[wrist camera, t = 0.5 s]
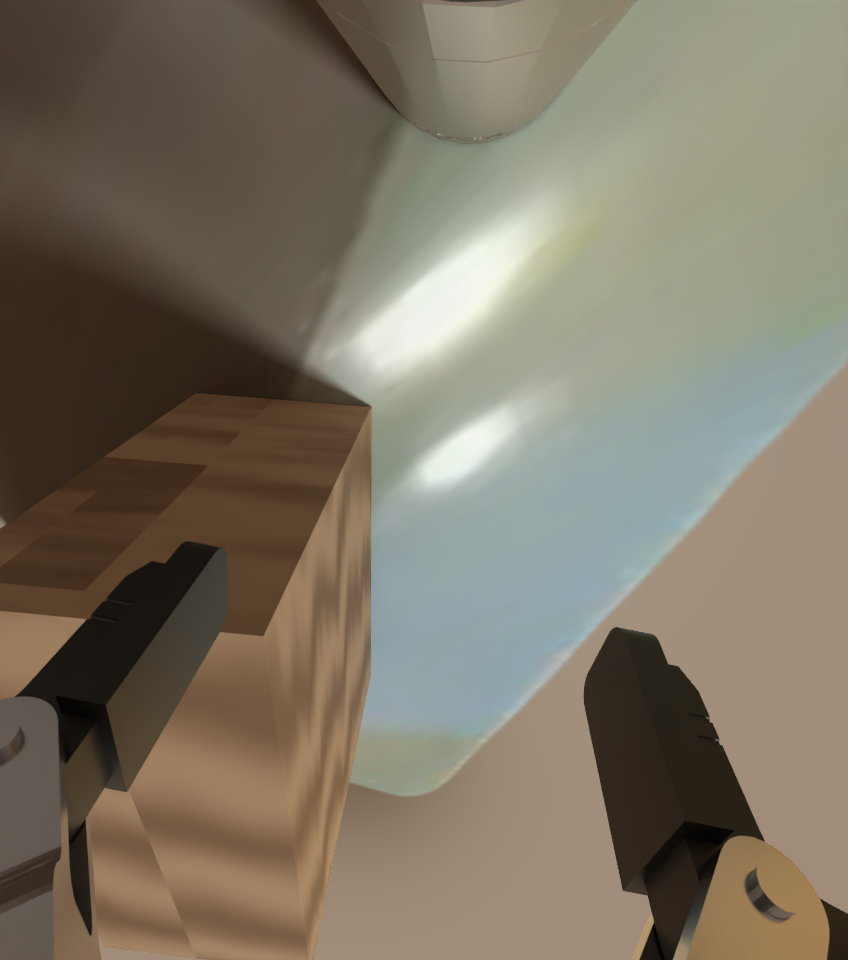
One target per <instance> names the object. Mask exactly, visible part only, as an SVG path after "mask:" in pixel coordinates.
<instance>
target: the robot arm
mask: <svg viewBox="0 0 848 960" xmlns="http://www.w3.org/2000/svg"><path fill="white" fill-rule="evenodd" d="M316 1H317V2H318V4H319V5H320V6H321V8H322V9H323V10H324V12H325V13H326V15H327V16H328V17H329V19H330V20H331V21H332V23H333V24H334V25H335V27H336V28H337V30H338V31H339V32H340V34H341V35H342V36H343V38H344V39H345V41H346V42H347V43H348V45H349V46H350V47H351V49H352V50H353V51H354V53H355V54H356V56H357V57H358V58H359V60H360V61H361V62H362V64H363V65H364V67H365V68H366V69H367V71H368V72H369V74H370V75H371V76H372V78H373V79H374V80H375V82H376V83H377V85H378V86H379V87H380V89H381V90H382V91H383V93H384V94H385V95H386V97H387V98H388V99H389V100H390V101H391V103H392V104H393V105H394V106H395V108H396V109H397V110H398V111H399V112H400V114H401V115H402V116H404V117H405V118H406V119H407V120H409V121H410V122H411V123H412V124H414V125H415V126H416V127H417V128H419V129H420V130H422V131H424V132H426V133H428V134H430V135H432V136H435V137H437V138H439V139H441V140H445V141H451V142H456V143H461V144H470V143H485V142H489V141H492V140H495V139H498V138H502V137H505V136H508V135H510V134H512V133H513V132H515V131H517V130H518V129H520V128H522V127H523V126H525V125H527V124H528V123H530V122H531V121H532V120H533V119H535V118H536V117H537V116H538V115H539V114H540V113H541V112H542V111H543V110H544V109H545V108H547V107H548V106H549V105H550V104H551V103H552V101H553V100H554V99H555V98H556V97H557V95H558V94H559V93H560V92H561V91H562V89H563V88H564V87H565V86H566V85H567V84H568V83H569V82H570V80H571V79H572V78H573V77H574V76H575V74H576V73H577V72H578V71H579V70H580V68H581V67H582V66H583V65H584V64H585V62H586V61H587V60H588V59H589V58H590V56H591V55H592V54H593V53H594V52H595V50H596V49H597V48H598V47H599V46H600V44H601V43H602V42H603V41H604V40H605V38H606V37H607V36H608V35H609V34H610V32H611V31H612V30H613V29H614V28H615V26H616V25H617V24H618V23H619V22H620V20H621V19H622V18H623V17H624V16H625V14H626V13H627V12H628V11H629V10H630V8H631V7H632V6H633V5H634V4H635V2H636V1H637V0H316ZM227 610H228V570H227V553H226V550H225V549H224V548H222V547H217V546H212V545H206V544H201V543H196V542H191V541H185V542H183V543H182V544H181V545H180V546H179V547H178V548H177V550H176V551H175V552H174V553H173V554H172V556H171V557H170V558H169V559H168V560H167V562H166V563H160V562H155V561H151V562H149V563H147V564H146V565H144V566H142V567H141V568H139V569H137V570H136V571H134V572H132V573H130V574H129V575H127V576H125V578H124V579H123V580H122V581H121V582H120V583H119V584H118V585H117V586H116V588H115V589H114V590H113V591H112V592H111V593H110V594H109V595H108V596H107V599H106V601H103V602H102V603H101V604H100V605H99V606H98V607H97V608H96V610H95V611H94V612H93V613H92V614H91V618H90V619H87V620H86V621H85V622H84V623H83V624H82V625H81V626H80V627H79V628H78V629H77V631H76V632H75V633H74V634H73V635H72V636H71V637H70V638H69V639H68V640H67V642H66V643H65V644H64V645H63V646H62V647H61V648H60V649H59V650H58V652H57V653H56V654H55V655H54V656H53V657H52V658H51V659H50V660H49V661H48V663H47V664H46V665H45V666H44V667H43V668H42V669H41V670H40V671H39V672H38V674H37V675H36V676H35V677H34V678H33V679H32V680H31V681H30V682H29V684H28V685H27V686H26V687H25V688H24V689H23V690H22V691H21V692H20V693H19V694H17V695H16V696H15V697H12V698H6V699H2V700H0V960H101V955H100V949H99V941H98V930H97V915H96V901H95V886H94V872H93V858H92V843H91V829H90V816H89V812H90V811H91V809H92V807H93V806H94V804H95V803H96V801H97V799H98V798H99V796H100V795H101V793H102V791H103V790H104V788H107V789H112V790H117V791H122V792H128V790H129V788H130V786H131V785H132V783H133V781H134V780H135V778H136V776H137V774H138V773H139V771H140V769H141V768H142V766H143V764H144V762H145V761H146V759H147V757H148V755H149V754H150V752H151V750H152V749H153V747H154V745H155V743H156V742H157V740H158V738H159V736H160V735H161V733H162V731H163V730H164V728H165V726H166V724H167V723H168V721H169V719H170V717H171V716H172V714H173V712H174V711H175V709H176V707H177V705H178V704H179V702H180V700H181V699H182V697H183V695H184V693H185V692H186V690H187V688H188V686H189V685H190V683H191V681H192V680H193V678H194V676H195V674H196V673H197V671H198V669H199V667H200V666H201V664H202V662H203V661H204V659H205V657H206V655H207V654H208V652H209V650H210V648H211V647H212V645H213V643H214V642H215V640H216V638H217V636H218V635H219V633H220V631H221V629H222V627H223V624H224V621H225V618H226V615H227ZM584 705H585V710H586V715H587V720H588V724H589V729H590V734H591V739H592V744H593V749H594V754H595V758H596V763H597V768H598V773H599V778H600V783H601V787H602V792H603V797H604V802H605V807H606V811H607V816H608V821H609V826H610V831H611V835H612V840H613V845H614V850H615V855H616V860H617V865H618V869H619V874H620V879H621V884H622V889H623V891H628V892H632V893H638V894H643V895H648V898H649V902H650V907H651V911H652V916H651V917H650V918H649V919H648V921H647V923H646V924H645V927H644V929H643V932H642V934H641V937H640V939H639V942H638V944H637V947H636V949H635V952H634V954H633V957H632V959H631V960H848V914H847V913H845V912H843V911H841V910H840V909H837V908H836V907H834V906H832V905H830V904H828V903H827V902H825V901H823V900H822V899H820V898H819V896H818V895H817V893H816V891H815V890H814V888H813V886H812V885H811V884H810V882H809V881H808V879H807V878H806V877H805V876H804V874H803V873H802V872H801V871H800V869H798V867H797V866H796V865H795V864H794V863H793V862H792V861H791V860H790V859H789V858H787V857H786V856H785V855H784V854H783V853H781V852H780V851H779V850H777V849H776V848H774V847H773V846H771V845H769V844H768V843H766V842H765V840H764V838H763V836H762V834H761V832H760V830H759V828H758V826H757V824H756V821H755V819H754V817H753V814H752V812H751V810H750V808H749V805H748V803H747V801H746V798H745V796H744V794H743V792H742V789H741V787H740V785H739V783H738V780H737V778H736V776H735V773H734V771H733V769H732V767H731V764H730V762H729V760H728V758H727V755H726V753H725V751H724V748H723V746H722V745H720V744H719V737H718V735H717V733H716V730H715V728H714V726H713V723H710V721H709V718H710V717H709V714H708V712H707V710H706V707H705V705H704V703H703V701H702V698H701V696H700V694H699V692H698V690H697V689H696V688H695V686H694V685H693V684H692V683H691V681H690V680H689V679H688V678H687V677H686V675H685V674H684V673H683V672H682V671H681V669H680V668H679V667H678V666H674V665H669V664H668V663H667V660H666V658H665V655H664V653H663V650H662V648H661V645H660V643H659V641H658V639H657V638H656V637H655V636H654V635H653V634H648V633H643V632H638V631H633V630H628V629H623V628H618V627H616V628H613V629H612V630H611V631H610V633H609V635H608V636H607V638H606V640H605V642H604V644H603V646H602V648H601V650H600V651H599V653H598V655H597V657H596V659H595V661H594V663H593V665H592V667H591V668H590V670H589V672H588V674H587V677H586V681H585V686H584Z"/></svg>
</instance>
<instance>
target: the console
mask: <svg viewBox="0 0 848 960" xmlns="http://www.w3.org/2000/svg"><path fill="white" fill-rule="evenodd" d="M185 541H191V542H196V543H201V544H206V545H212V546H217V547H222V548H224V549H225V550H226V553H227V570H228V610H227V615H226V618H225V621H224V624H223V627H222V629H221V631H220V633H219V635H218V636H217V638H216V640H215V642H214V643H213V645H212V647H211V648H210V650H209V652H208V654H207V655H206V657H205V659H204V661H203V662H202V664H201V666H200V667H199V669H198V671H197V673H196V674H195V676H194V678H193V680H192V681H191V683H190V685H189V686H188V688H187V690H186V692H185V693H184V695H183V697H182V699H181V700H180V702H179V704H178V705H177V707H176V709H175V711H174V712H173V714H172V716H171V717H170V719H169V721H168V723H167V724H166V726H165V728H164V730H163V731H162V733H161V735H160V736H159V738H158V740H157V742H156V743H155V745H154V747H153V749H152V750H151V752H150V754H149V755H148V757H147V759H146V761H145V762H144V764H143V766H142V768H141V769H140V771H139V773H138V774H137V776H136V778H135V780H134V781H133V783H132V785H131V786H130V788H129V790H128V792H122V791H117V790H112V789H107V788H104V790H103V791H102V793H101V795H100V796H99V798H98V799H97V801H96V803H95V804H94V806H93V807H92V809H91V811H90V812H89V816H90V829H91V843H92V858H93V872H94V886H95V901H96V915H97V930H98V936H99V938H100V940H101V941H102V943H103V945H104V946H105V947H109V948H118V949H125V950H133V951H142V952H150V953H158V954H166V955H174V956H182V957H191V958H199V959H207V960H313V955H314V951H315V946H316V941H317V936H318V932H319V927H320V921H321V916H322V912H323V907H324V902H325V897H326V892H327V887H328V882H329V877H330V872H331V868H332V863H333V858H334V853H335V848H336V843H337V838H338V833H339V828H340V823H341V819H342V814H343V808H344V804H345V799H346V794H347V789H348V784H349V779H350V774H351V769H352V764H353V760H354V755H355V750H356V745H357V740H358V735H359V730H360V725H361V720H362V715H363V710H364V706H365V701H366V696H367V691H368V686H369V681H370V652H371V407H368V406H355V405H343V404H330V403H317V402H304V401H292V400H279V399H266V398H253V397H241V396H228V395H215V394H202V393H195V394H194V395H192V396H191V397H189V398H188V399H187V400H185V401H184V402H182V403H181V404H179V405H178V406H176V407H175V408H174V409H172V410H171V411H169V412H168V413H166V414H165V415H164V416H162V417H161V418H159V419H158V420H156V421H155V422H153V423H152V424H151V425H149V426H148V427H146V428H145V429H143V430H142V431H140V432H139V433H138V434H136V435H135V436H133V437H132V438H130V439H129V440H128V441H126V442H125V443H123V444H122V445H120V446H119V447H117V448H116V449H115V450H113V451H112V452H110V453H109V454H107V455H106V456H104V457H103V458H102V459H100V460H99V461H97V462H96V463H94V464H93V465H92V466H90V467H89V468H87V469H86V470H84V471H83V472H81V473H80V474H79V475H77V476H76V477H74V478H73V479H71V480H70V481H68V482H67V483H66V484H64V485H63V486H61V487H60V488H58V489H57V490H56V491H54V492H53V493H51V494H50V495H48V496H47V497H45V498H44V499H43V500H41V501H40V502H38V503H37V504H35V505H34V506H32V507H31V508H30V509H28V510H27V511H25V512H24V513H22V514H21V515H20V516H18V517H17V518H15V519H14V520H12V521H11V522H9V523H8V524H7V525H5V526H4V527H2V528H1V529H0V700H2V699H6V698H12V697H15V696H16V695H17V694H19V693H20V692H21V691H22V690H23V689H24V688H25V687H26V686H27V685H28V684H29V682H30V681H31V680H32V679H33V678H34V677H35V676H36V675H37V674H38V672H39V671H40V670H41V669H42V668H43V667H44V666H45V665H46V664H47V663H48V661H49V660H50V659H51V658H52V657H53V656H54V655H55V654H56V653H57V652H58V650H59V649H60V648H61V647H62V646H63V645H64V644H65V643H66V642H67V640H68V639H69V638H70V637H71V636H72V635H73V634H74V633H75V632H76V631H77V629H78V628H79V627H80V626H81V625H82V624H83V623H84V622H85V621H86V620H87V619H90V618H91V614H92V613H93V612H94V611H95V610H96V608H97V607H98V606H99V605H100V604H101V603H102V602H103V601H106V599H107V596H108V595H109V594H110V593H111V592H112V591H113V590H114V589H115V588H116V586H117V585H118V584H119V583H120V582H121V581H122V580H123V579H124V578H125V576H127V575H129V574H130V573H132V572H134V571H136V570H137V569H139V568H141V567H142V566H144V565H146V564H147V563H149V562H151V561H155V562H160V563H166V562H167V560H168V559H169V558H170V557H171V556H172V554H173V553H174V552H175V551H176V550H177V548H178V547H179V546H180V545H181V544H182V543H183V542H185Z"/></svg>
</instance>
